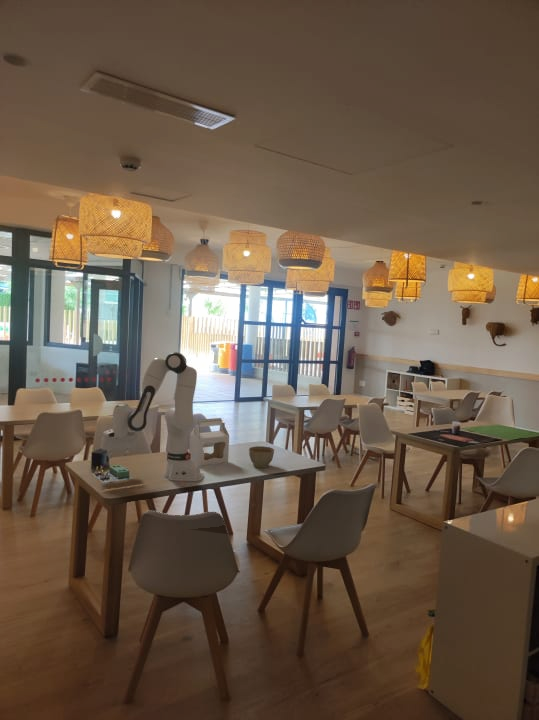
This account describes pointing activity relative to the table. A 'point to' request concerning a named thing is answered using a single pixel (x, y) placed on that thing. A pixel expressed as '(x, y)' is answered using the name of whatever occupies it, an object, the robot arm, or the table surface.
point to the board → (119, 471)
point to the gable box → (209, 437)
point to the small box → (100, 459)
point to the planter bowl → (261, 456)
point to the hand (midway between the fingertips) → (118, 456)
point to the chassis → (107, 476)
